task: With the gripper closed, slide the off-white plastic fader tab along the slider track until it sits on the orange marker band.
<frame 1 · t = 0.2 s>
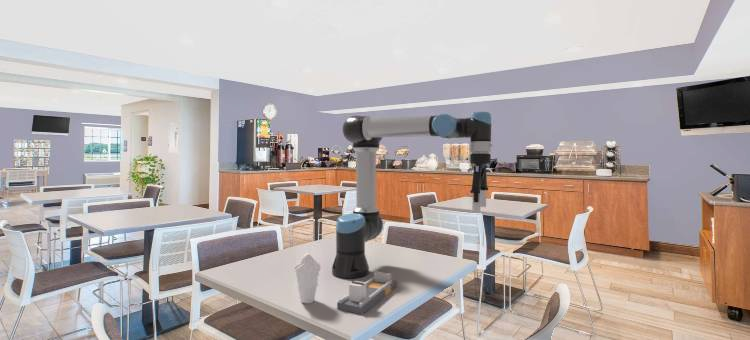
hand: (479, 208, 138), 28 cm above the table, fingers open, 13 cm apart
fader tab: (357, 290, 115), point 5 cm above the table, slide at 0.0 cm
soft serve ice cream cone: (307, 301, 119), on the table
slider track: (369, 296, 123), on the table
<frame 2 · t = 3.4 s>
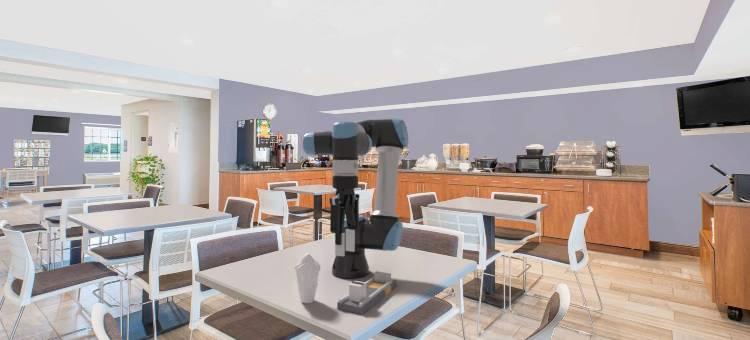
hand: (345, 252, 107), 19 cm above the table, fingers open, 5 cm apart
nothing on the table moved.
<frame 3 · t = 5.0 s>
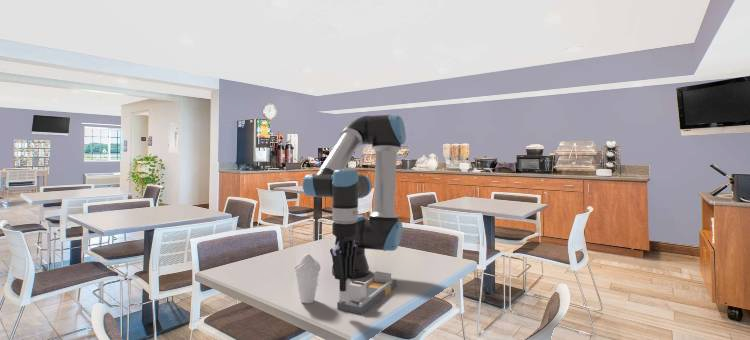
hand: (344, 300, 108), 5 cm above the table, fingers closed
nothing on the table moved.
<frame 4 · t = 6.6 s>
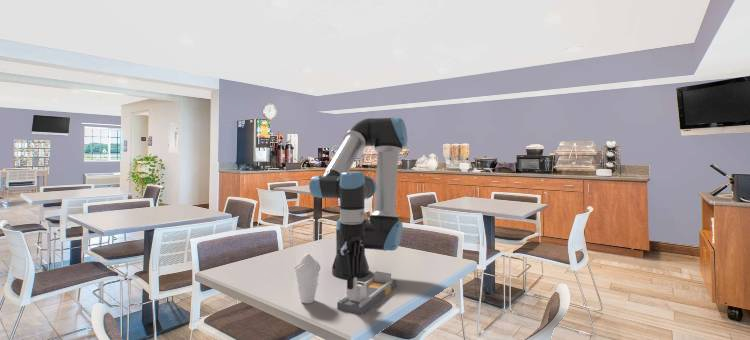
hand: (352, 297, 112), 4 cm above the table, fingers closed
fader tab: (357, 290, 115), point 5 cm above the table, slide at 0.1 cm, touching gripper
everything else where it was.
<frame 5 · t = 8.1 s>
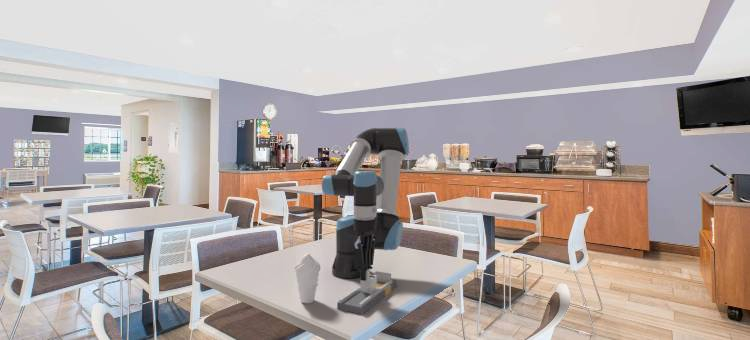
hand: (364, 288, 120), 4 cm above the table, fingers closed
fader tab: (368, 283, 122), point 5 cm above the table, slide at 7.8 cm, touching gripper
everything else where it was.
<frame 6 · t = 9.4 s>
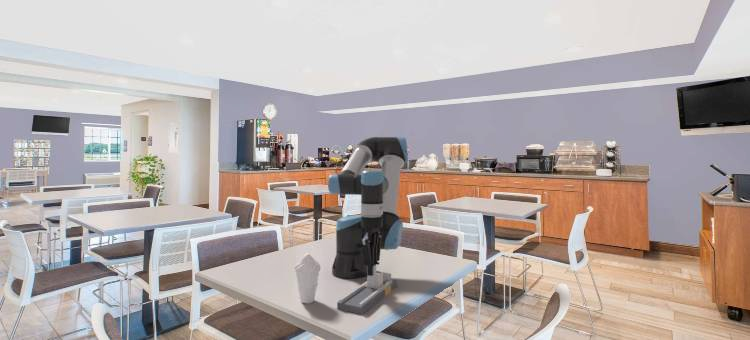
hand: (371, 283, 124), 4 cm above the table, fingers closed
fader tab: (375, 278, 127), point 5 cm above the table, slide at 12.9 cm, touching gripper
everything else where it was.
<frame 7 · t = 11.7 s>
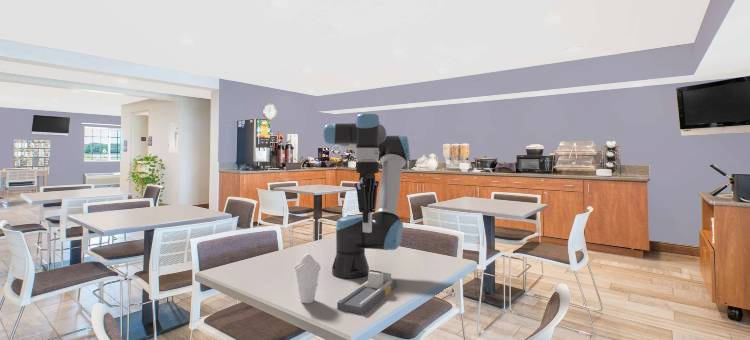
hand: (367, 231, 120), 22 cm above the table, fingers closed
fader tab: (375, 278, 127), point 5 cm above the table, slide at 13.2 cm
everything else where it was.
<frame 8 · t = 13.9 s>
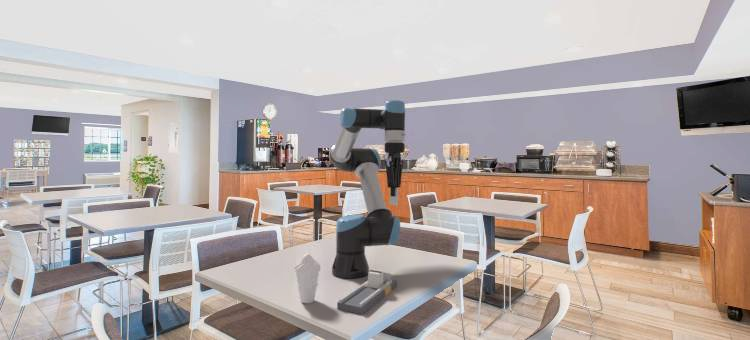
hand: (394, 204, 137), 29 cm above the table, fingers closed
nothing on the table moved.
at the end: fader tab slide at 13.2 cm; fader tab touching nothing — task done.
